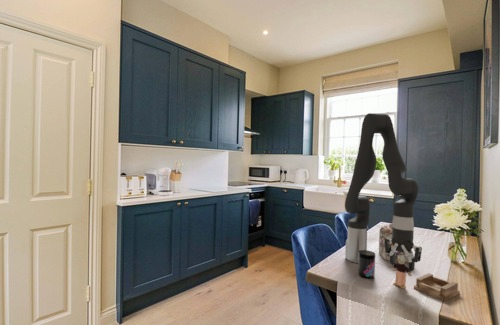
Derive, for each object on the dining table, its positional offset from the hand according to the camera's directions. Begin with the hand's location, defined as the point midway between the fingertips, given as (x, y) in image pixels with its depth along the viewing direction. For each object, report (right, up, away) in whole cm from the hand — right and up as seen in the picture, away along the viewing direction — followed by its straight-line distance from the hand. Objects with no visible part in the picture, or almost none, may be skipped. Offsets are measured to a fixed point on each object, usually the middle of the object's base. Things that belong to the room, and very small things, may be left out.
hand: (401, 267), depth 107 cm
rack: (+12, -8, -3) cm, 15 cm away
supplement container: (-10, -8, +9) cm, 16 cm away
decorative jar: (+14, -8, +32) cm, 36 cm away
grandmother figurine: (0, -8, 0) cm, 8 cm away
